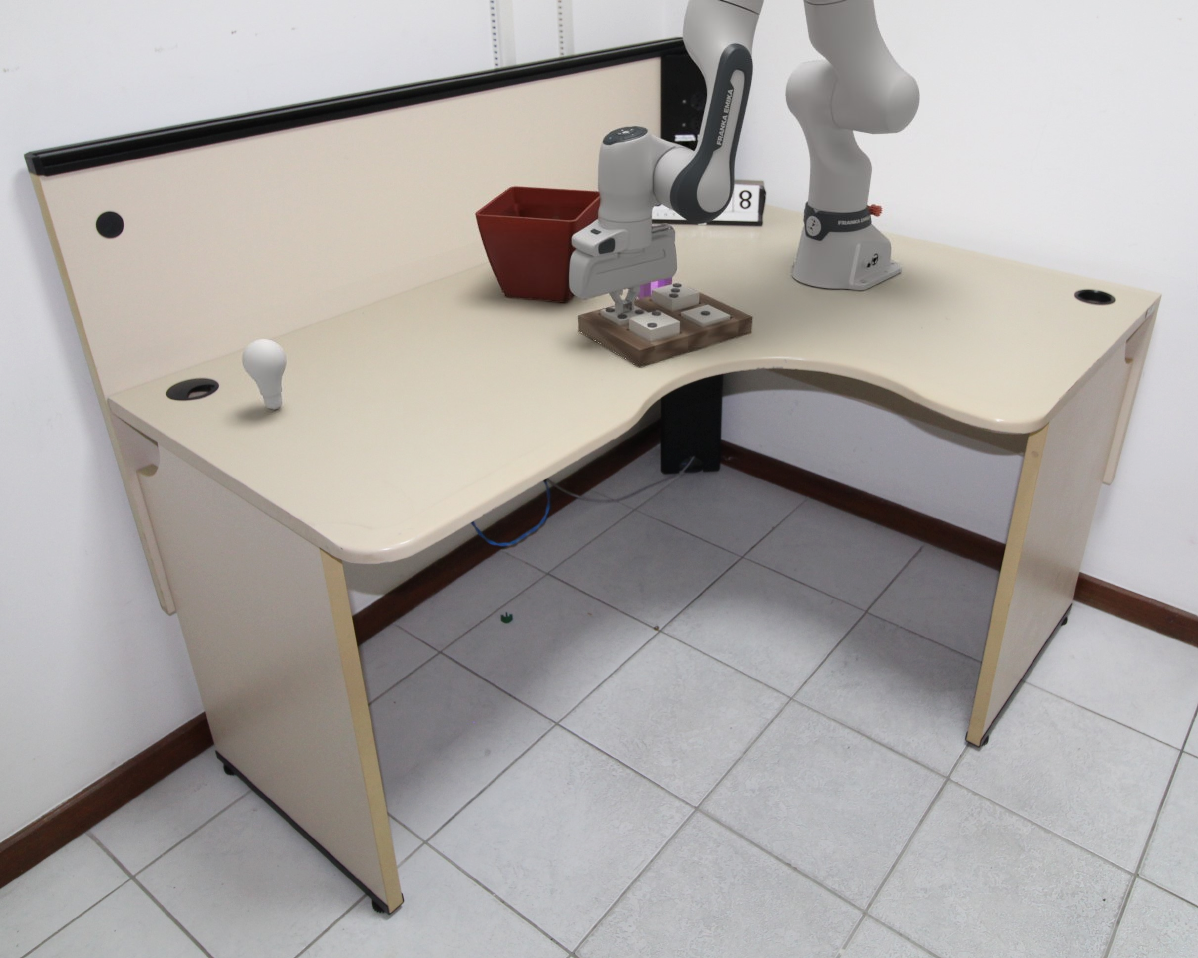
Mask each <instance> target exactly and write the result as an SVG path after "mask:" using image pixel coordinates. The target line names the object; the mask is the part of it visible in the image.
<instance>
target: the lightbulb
mask: <svg viewBox="0 0 1198 958" xmlns="http://www.w3.org/2000/svg"><path fill="white" fill-rule="evenodd" d="M241 359H242V360H241V361H242V362H241V363H242V367H243V369H244V370H245V372H246V373H247V374H248V375H249V376H250V378H251V379H252V380H253V381H254V382H255V384H256V386H257V388H258V390H259V393H260V395H261V396H262V399H263V403H264V405H265V407H266V408H267V409H270V410H273V411H274V410H277V409H279V408H280V407H281V406H282V405H283V396H282V392H283V386H282V385H283V384H282V380H283V376H284V373H285V370H286V368H287V364H288V363H287V361H288V360H287V355H286V353H285V350H284V349H283V347H282V346H281V345H280V344H279V343H278V342H275V341H274V340H271V339H266V338H260V339H255V340H254V341H252V342H250V343H249V344H248V345H247V346H246V347H245V348H244V351H243V353H242V356H241Z"/></svg>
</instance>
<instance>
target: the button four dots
mask: <svg viewBox="0 0 1198 958" xmlns="http://www.w3.org/2000/svg"><path fill="white" fill-rule="evenodd" d="M613 306H614V305H613ZM609 307H610V308H607V307H605V308H606V309H603V308H602V309H603V310H601V316H603V317H604V318H606V319H608V320H610V321H612V322H613V323H615V324H617V325H619V326H623V325H626V324H629V318H632V317H635V316H639V315H643V314H646V313H648V312H646V311H644V310H642V309H640V308H638V307H637V306H635V305H634V310H633V311H629V312H626V313H622V314H618V313H617V312H616V311H615V306H614V307H611V306H609Z"/></svg>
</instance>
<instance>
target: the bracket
mask: <svg viewBox="0 0 1198 958" xmlns="http://www.w3.org/2000/svg"><path fill="white" fill-rule="evenodd" d="M671 284H673V277H671V278H667V279H663V280H659V281H655V282H651V283H647V284H643V285H640V292H639V294H638V296H637V298H638V299H641V298H644V297H648V296H652V289H656V288H659V287H663V286H667V285H671Z"/></svg>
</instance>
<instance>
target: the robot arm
mask: <svg viewBox="0 0 1198 958" xmlns="http://www.w3.org/2000/svg"><path fill="white" fill-rule="evenodd" d="M802 1H803V7H804V13H805V14H804V15H805V21H806V26H807V27H806V28H807V33H808V39H809V42H810V44H811V45H812V47H813V48H814V49H815V50H816V52H817V53H818V54H820V55H821V56H822V57H823V58H825V59H816V60H810V61H809V60H807V61H802V62H801V63H800V64H798V65H797V66H796V67H795V68H794V69H793V70H792V72H791V74H790V76H789V77H788V80H787V82H786V86H785V102H786V105H787V108H788V110H789V112H790V113H791V114H792V115H793V116H794V117H795V119H796V121H797V123H798V124H799V126H800V127H801V130H802V132H803V135H804V137H805V140H806V144H807V148H808V153H809V164H810V165H809V167H810V168H809V184H808V195H807V201H806V202H805V204H804V208H803V209H804V210H803V218H802V219H803V220H802V221H803V227H802V229H801V234H800V238H799V242H798V247H797V252H796V257H795V258H794V259H793V262H792V266H793V268H792V270H791V275H792V277H793V278H794V280H796V281H798V282H800V283H801V284H805V285H807V286H812V287H817V288H825V289H845V290H847V289H849V290H854V291H866V290H868V289H869V288H872V287H874V286H877V284H880V283H882V282H884V281H885V280H888V279H890V278H892V277H894V276H896V275H898V274H900V273H902V270H903V266H901V265H900V264H899V262H896V261H895V260H892V243H891V241H890V239H889V238H888V237H887V236H886V235H885V234H884V233H882V232H881V230H879V229H878V228H877V227H876V226H875V225H874V224H873V223H872V222H873V221H872V215H873V216H874V217H877V218H878V217H881V214H883V207H882V206H881V205H876V204H875V203H873V204H871V205H868V203H869V194H870V188H871V181H872V180H871V178H872V173H873V166H872V162H871V159H870V158H869V156H868V155H867V154H866V153H865V151H863V150H862V149H861V148H860V146H859V145H858V143H857V141H856V138H855V134H854V132H859V133H864V134H869V135H870V134H871V135H884V134H885V135H888V134H897V133H901V132H902V131H904V130H905V129H906V128H908V126H909V125H910V124H911V122H912V121H913V119H914V118H915V117H916V114H917V111H918V109H919V105H920V101H921V100H920V98H921V97H920V88H919V85H918V83H917V81H916V79H915V78H914V76H913V75H911V74H910V73H908V72H907V71H906V70H905V69H904V68H902V67H901V65H900V64H899V63H898V62H897V60H896V59H895V58H894V56H893V54H892V53H891V51H890V50H889V48H888V46H887V45H886V43H885V41H884V38H883V36H882V34H881V31H880V29H879V25H878V21H877V16H876V9H875V8H876V7H875V2H874V1H875V0H802ZM764 2H765V0H688V2H687V7H686V9H685V14H684V20H683V27H682V40H683V43H684V46H685V50H686V51H687V53H688V55H689V56H690V58H691V60H692V61H693V62H694V63H695V64H696V66H697V67H698V68H699V70H700V71H701V74H702V75H703V77H704V81H705V85H706V94H707V96H706V103H705V107H704V110H703V111H704V113H703V115H702V121H701V124H700V125H701V126H700V130H699V136H698V140H697V145H696V148H695V149H694V150H692V149H691V148H689V147H686V146H683V145H681V144H678V143H676V142H670V141H667V140H666V139H663V138H661V137H659V136H657V135H655V134H653V133H652V132H650V130H649V129H648V128H646V127H644V126H638V125H634V126H623V127H620V128H616V129H613V130H612V131H610V132H609V133H607V134H606V135H605V136H604V138H603V139H602V141H601V144H600V149H599V153H598V163H597V164H598V165H597V189H598V191H599V194H600V207H599V210H598V219H597V220H596V221H594V222H593V223H591V224H590V225H589V226H587V227H585V228H584V229H582V230H581V231H579V232H577V233H576V234H574V235H573V236H572V245H573V247H575V248H576V250H575V251H574V252H573V254H572V256H571V260H570V270H569V286H570V290H571V292H572V293H573V294H574V295H573V296H576V297H577V298H579V299H581V300H588V299H592V298H596V297H599V296H604V295H609V296H610V297H611V300H612V301H613V302H614V305H615V311H616V312H617V313H618V314H622V313H626V312H629V311H633V310H634V301H635V300H637V298H638V294H639V292H640V285H643V284H647V283H651V282H655V281H659V280H663V279H667V278H671V277H672V278H673V277H674V276H675V275H676V273H677V271H678V257H677V256H678V255H677V246H676V231H675V229H674V227H673V226H672V225H670V224H669V223H660V224H658V225H653V209H654V207H655V206H661V205H662V206H663V207H666V208H667V209H670V210H672V211H674V212H675V213H676V214H678V215H679V216H680V217H682V218H683V219H684V220H685V221H687V222H689V223H691V224H695V225H704V224H707V223H709V222H712V221H714V220H715V219H718V217H720V216H721V215H722V214H723V213H724V212H725V211H726V209H728V206H729V204H730V203H731V200H732V198H733V195H734V190H735V183H736V182H735V174H736V173H735V171H736V169H735V165H736V156H737V152H738V148H739V142H740V139H741V138H740V137H741V133H742V130H743V124H744V119H745V115H746V111H747V106H748V101H749V97H750V91H751V87H752V81H753V73H754V72H753V70H754V63H753V58H752V57H753V45H754V37H755V33H756V29H757V25H758V22H759V18H760V14H761V12H762V9H763V5H764ZM624 290H628V291H627V293H626V296H625V298H624V299H622V298H621V297H622V296H623V295H624V293H623V292H624Z"/></svg>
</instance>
